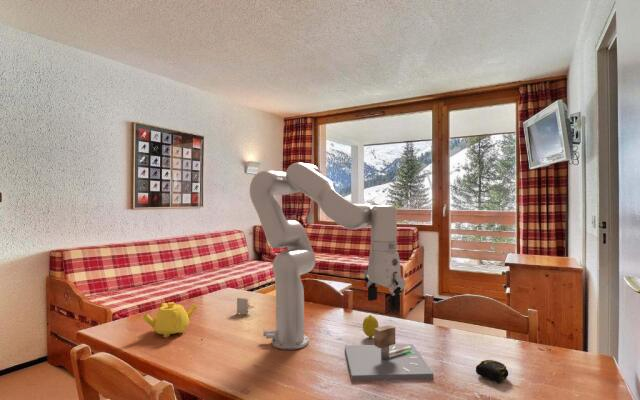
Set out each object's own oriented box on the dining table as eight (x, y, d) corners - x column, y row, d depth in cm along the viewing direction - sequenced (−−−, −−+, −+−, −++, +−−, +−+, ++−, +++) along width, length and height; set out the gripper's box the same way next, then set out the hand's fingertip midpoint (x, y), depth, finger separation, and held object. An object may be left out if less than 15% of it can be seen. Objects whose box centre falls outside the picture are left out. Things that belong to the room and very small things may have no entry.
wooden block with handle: (379, 361, 104) (379, 331, 104) (374, 358, 106) (374, 328, 106) (413, 351, 110) (412, 323, 110) (407, 348, 112) (407, 320, 112)
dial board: (351, 381, 96) (351, 375, 96) (344, 350, 116) (344, 345, 116) (433, 379, 96) (433, 373, 96) (412, 348, 116) (412, 343, 116)
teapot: (149, 347, 120) (149, 313, 120) (135, 333, 134) (135, 303, 134) (207, 332, 133) (206, 302, 133) (188, 320, 147) (188, 293, 147)
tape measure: (474, 377, 98) (474, 363, 98) (488, 370, 102) (488, 356, 102) (498, 387, 92) (498, 373, 92) (512, 379, 96) (512, 365, 96)
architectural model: (241, 312, 158) (241, 295, 158) (254, 314, 155) (254, 297, 155) (236, 315, 155) (236, 297, 155) (249, 317, 152) (249, 299, 152)
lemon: (378, 341, 123) (378, 318, 123) (362, 340, 124) (361, 317, 124) (378, 335, 128) (378, 313, 128) (363, 334, 129) (363, 312, 129)
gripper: (414, 249, 101) (413, 310, 101) (374, 242, 116) (373, 295, 116) (394, 251, 97) (393, 314, 97) (355, 244, 112) (355, 298, 112)
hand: (383, 304), depth 106 cm, fingers open, 9 cm apart
